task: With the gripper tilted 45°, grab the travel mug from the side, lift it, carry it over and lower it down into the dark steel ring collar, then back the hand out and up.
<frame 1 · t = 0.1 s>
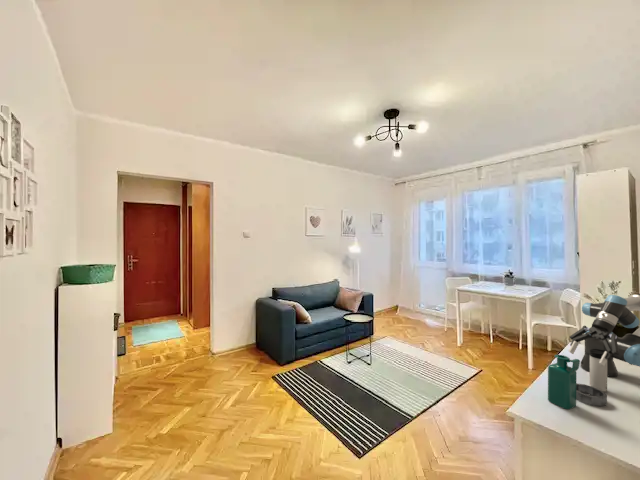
hand: (585, 358, 141), 15 cm above the table, tool tilted 35°, fingers open, 13 cm apart
green bottle: (563, 404, 127), on the table
ring collar: (587, 398, 132), on the table
travel mug: (598, 390, 139), on the table
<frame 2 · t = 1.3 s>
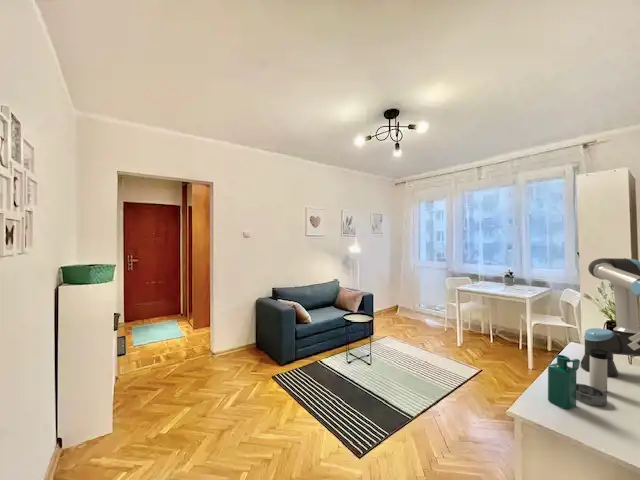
hand: (630, 344, 131), 26 cm above the table, tool tilted 45°, fingers open, 13 cm apart
nothing on the table moved.
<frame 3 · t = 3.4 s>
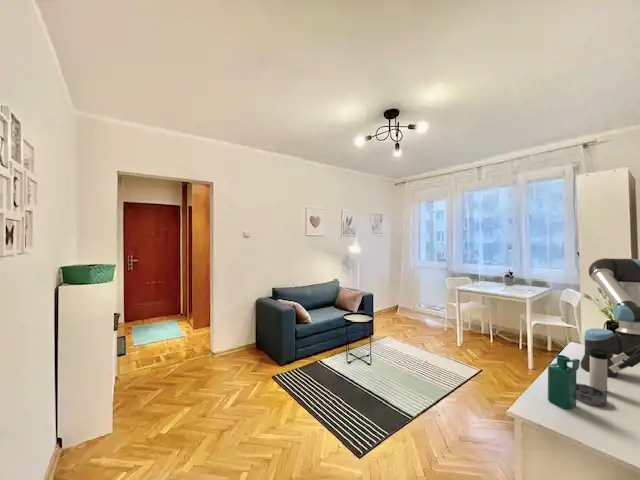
hand: (612, 365, 135), 14 cm above the table, tool tilted 45°, fingers open, 13 cm apart
nothing on the table moved.
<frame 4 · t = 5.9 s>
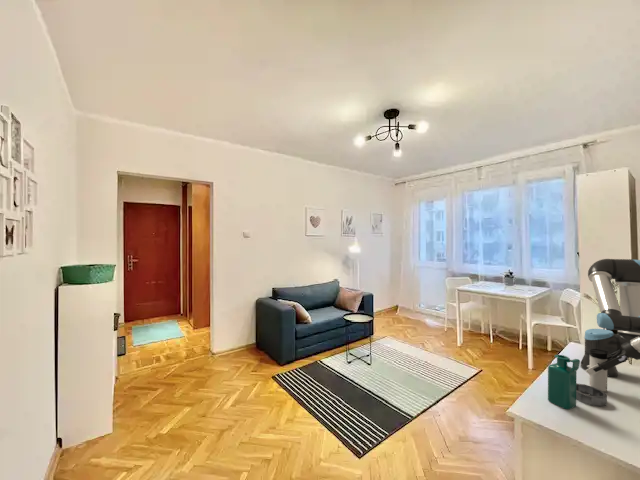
hand: (588, 370, 142), 8 cm above the table, tool tilted 45°, fingers closed on travel mug, 6 cm apart
travel mug: (598, 390, 139), on the table, touching gripper
everything else where it was.
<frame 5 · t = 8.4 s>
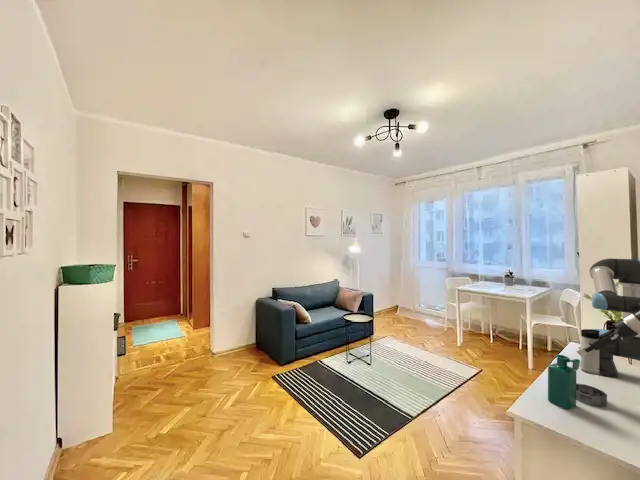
hand: (580, 352, 134), 21 cm above the table, tool tilted 45°, fingers closed on travel mug, 6 cm apart
travel mug: (590, 372, 132), point 12 cm above the table, touching gripper
everything else where it was.
when the fingers open (10 cm above the table, at t = 11.4 s): travel mug drops 1 cm, resting in ring collar.
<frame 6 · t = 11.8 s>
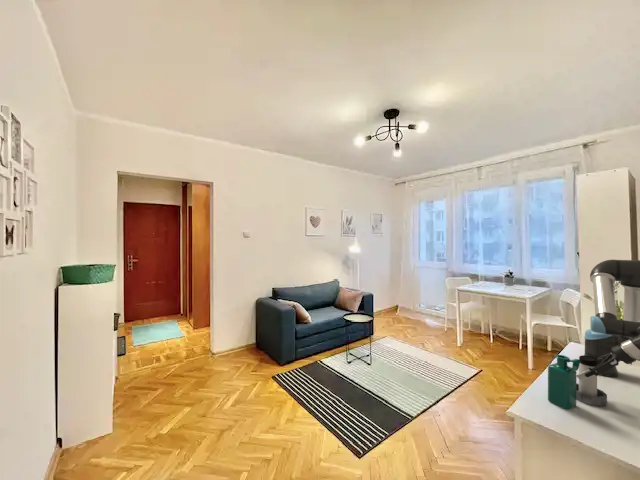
hand: (580, 373, 133), 11 cm above the table, tool tilted 45°, fingers open, 12 cm apart
travel mug: (588, 399, 132), resting in ring collar
everything else where it was.
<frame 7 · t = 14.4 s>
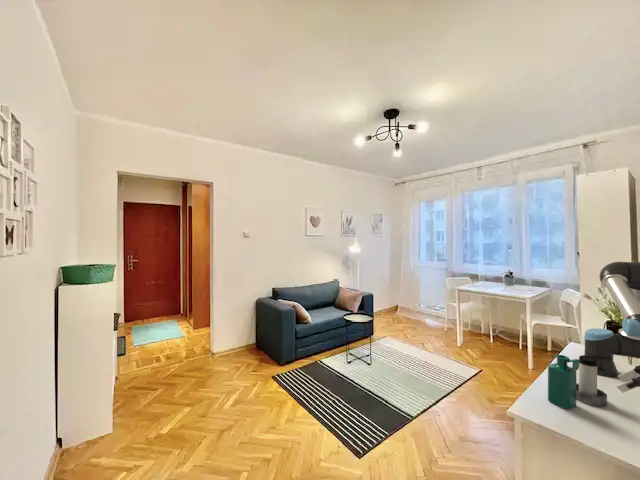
hand: (620, 383, 124), 11 cm above the table, tool tilted 45°, fingers open, 13 cm apart
nothing on the table moved.
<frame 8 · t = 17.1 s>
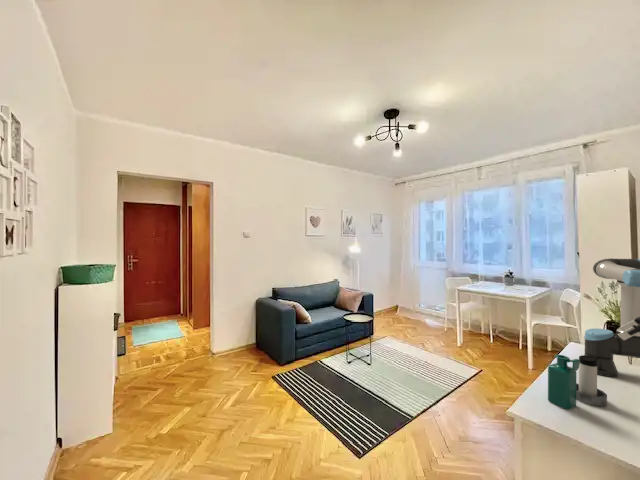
hand: (621, 333, 126), 33 cm above the table, tool tilted 45°, fingers open, 13 cm apart
nothing on the table moved.
at the end: travel mug 0.1 cm from the ring collar (horizontally); travel mug resting in ring collar; travel mug tilted 0° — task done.
